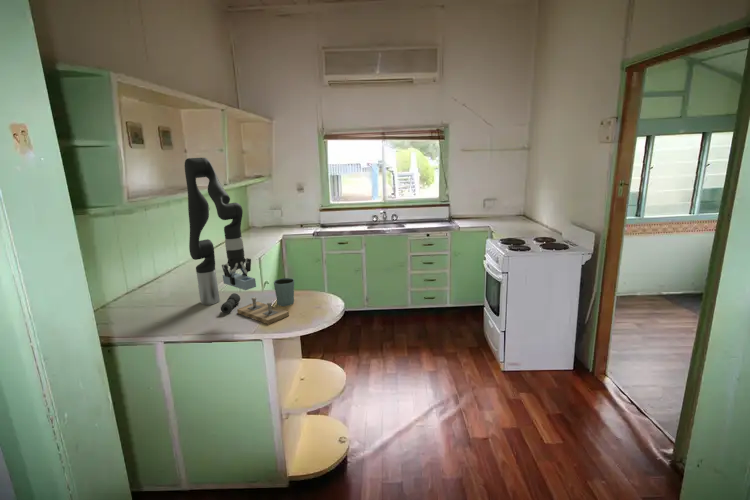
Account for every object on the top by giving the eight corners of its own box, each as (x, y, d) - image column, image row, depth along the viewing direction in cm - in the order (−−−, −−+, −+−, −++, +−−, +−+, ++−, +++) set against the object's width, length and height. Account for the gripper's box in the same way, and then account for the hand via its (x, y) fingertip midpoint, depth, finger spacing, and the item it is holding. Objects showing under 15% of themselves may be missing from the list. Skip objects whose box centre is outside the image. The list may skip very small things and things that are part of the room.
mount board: (237, 313, 199) (235, 299, 197) (258, 305, 208) (256, 292, 206) (268, 324, 185) (266, 310, 183) (289, 315, 194) (287, 301, 192)
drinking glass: (272, 303, 210) (269, 281, 207) (288, 298, 217) (286, 276, 214) (283, 308, 203) (280, 285, 200) (300, 302, 210) (298, 280, 207)
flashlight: (231, 314, 198) (230, 303, 197) (220, 314, 198) (219, 304, 197) (241, 302, 213) (239, 292, 212) (230, 302, 213) (229, 293, 212)
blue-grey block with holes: (223, 283, 192) (222, 275, 191) (234, 280, 196) (233, 272, 195) (245, 290, 180) (244, 281, 179) (256, 286, 184) (255, 278, 183)
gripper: (243, 243, 191) (248, 277, 195) (215, 249, 181) (220, 286, 185) (253, 245, 187) (257, 280, 191) (224, 252, 176) (229, 289, 180)
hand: (239, 282), depth 188 cm, fingers closed on blue-grey block with holes, 5 cm apart
